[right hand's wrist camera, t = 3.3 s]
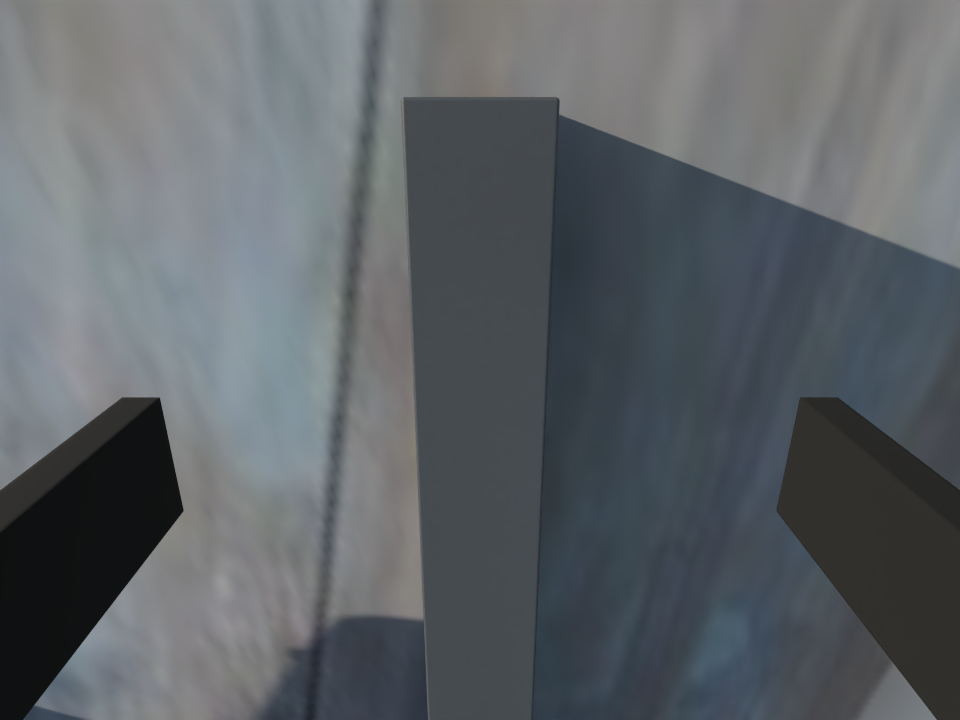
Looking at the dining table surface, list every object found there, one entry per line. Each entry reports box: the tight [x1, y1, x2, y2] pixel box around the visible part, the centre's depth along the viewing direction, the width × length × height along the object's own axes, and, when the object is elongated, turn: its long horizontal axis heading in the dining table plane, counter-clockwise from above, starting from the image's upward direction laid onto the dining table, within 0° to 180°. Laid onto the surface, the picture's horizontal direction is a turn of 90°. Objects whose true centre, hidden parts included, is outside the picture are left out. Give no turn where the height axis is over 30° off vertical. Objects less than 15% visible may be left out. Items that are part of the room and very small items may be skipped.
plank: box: [401, 97, 559, 720], centre depth 30 cm, size 54×4×7 cm, turn 0°
